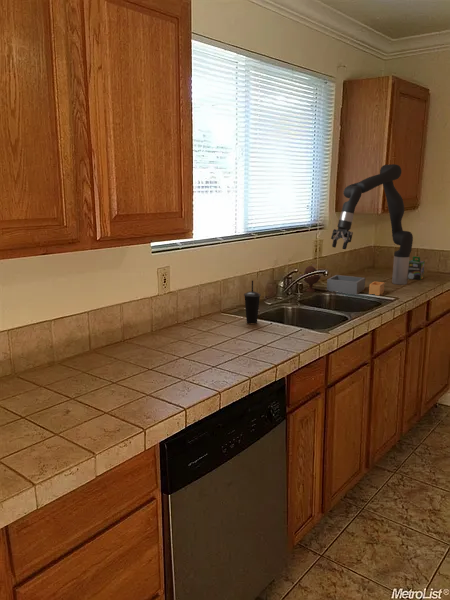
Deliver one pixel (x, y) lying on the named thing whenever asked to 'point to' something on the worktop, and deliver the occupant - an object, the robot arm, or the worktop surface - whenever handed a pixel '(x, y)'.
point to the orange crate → (376, 288)
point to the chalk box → (416, 269)
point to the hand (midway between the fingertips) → (338, 248)
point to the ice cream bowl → (311, 278)
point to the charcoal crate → (346, 284)
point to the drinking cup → (252, 305)
